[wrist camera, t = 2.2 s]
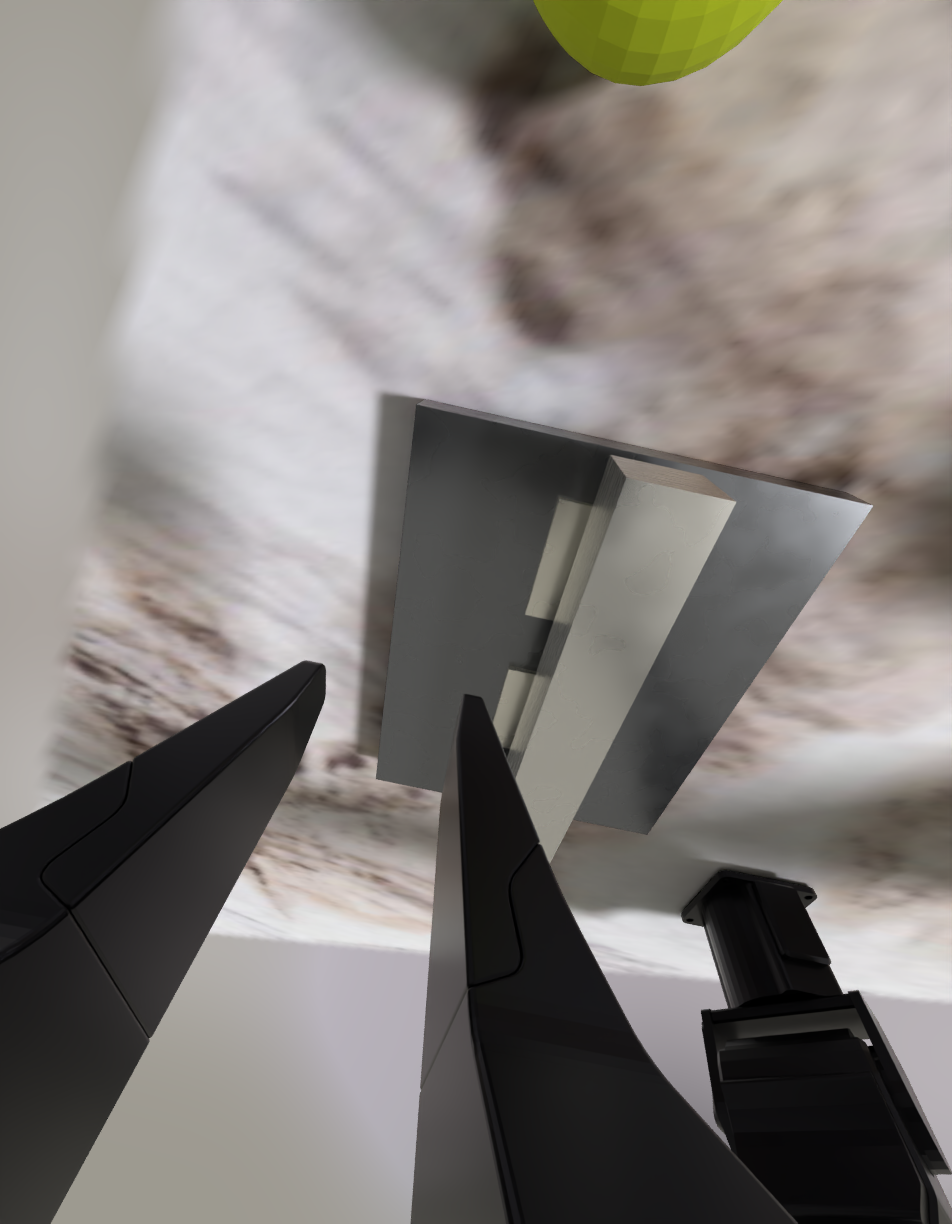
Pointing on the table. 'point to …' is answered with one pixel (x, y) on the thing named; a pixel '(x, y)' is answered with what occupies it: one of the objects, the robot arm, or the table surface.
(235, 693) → the table surface
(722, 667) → the panel
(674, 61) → the tennis ball
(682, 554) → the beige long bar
